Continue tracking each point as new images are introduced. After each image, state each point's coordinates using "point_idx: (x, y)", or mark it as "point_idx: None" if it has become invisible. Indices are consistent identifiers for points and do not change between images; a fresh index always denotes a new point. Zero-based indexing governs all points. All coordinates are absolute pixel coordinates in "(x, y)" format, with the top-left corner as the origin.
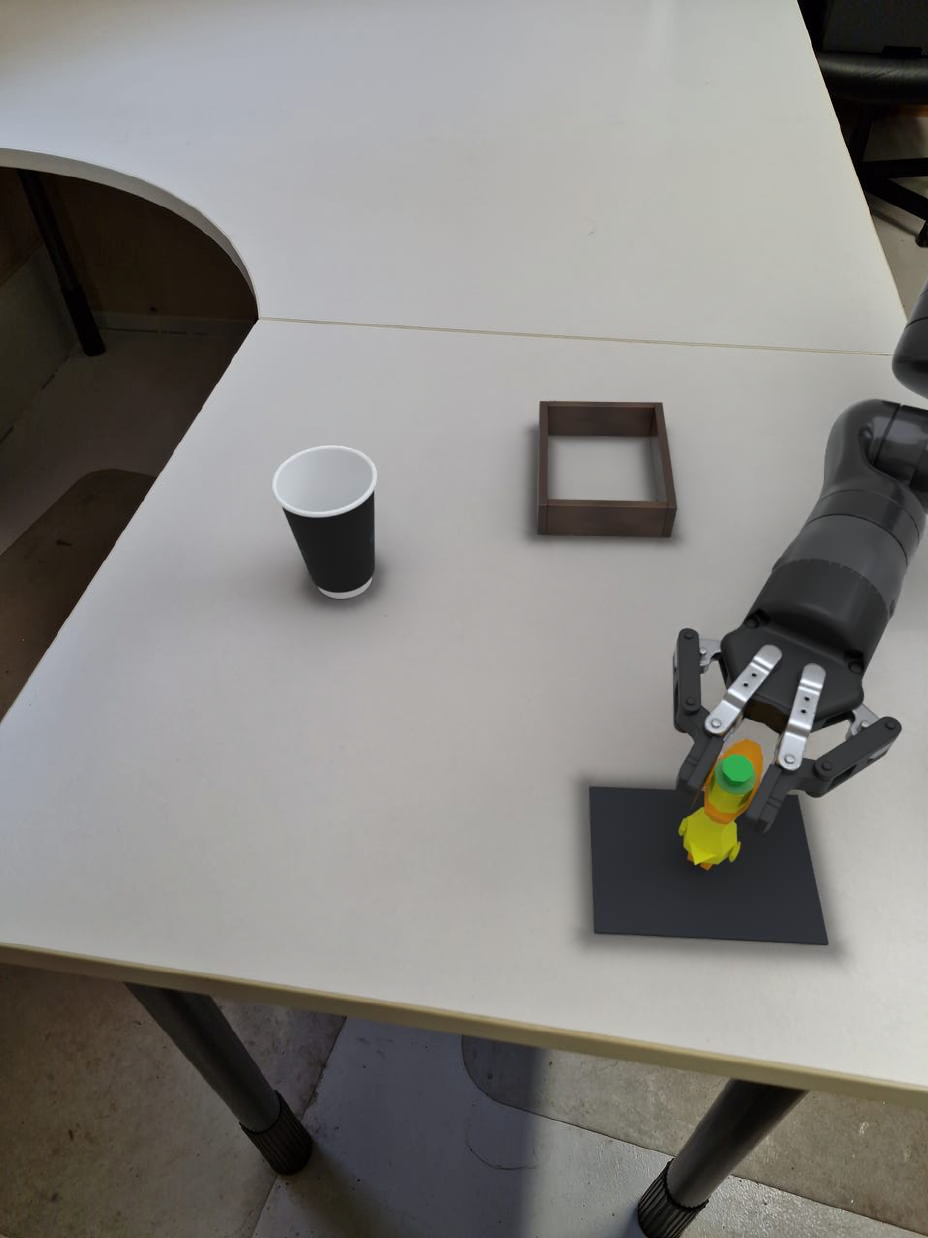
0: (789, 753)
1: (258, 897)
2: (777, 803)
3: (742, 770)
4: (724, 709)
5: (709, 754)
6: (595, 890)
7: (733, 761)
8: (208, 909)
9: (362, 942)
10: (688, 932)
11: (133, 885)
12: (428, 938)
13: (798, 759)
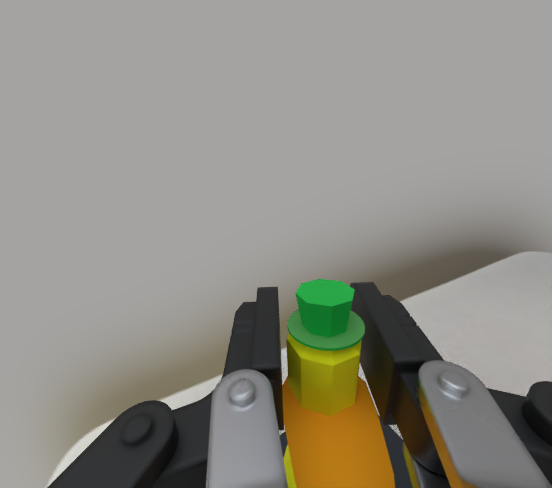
0: (247, 413)
1: (509, 297)
2: (239, 328)
3: (315, 290)
4: (496, 449)
5: (389, 323)
6: (380, 419)
7: (339, 292)
8: (512, 284)
9: (446, 309)
10: (285, 437)
11: (546, 275)
12: (426, 328)
13: (220, 406)
